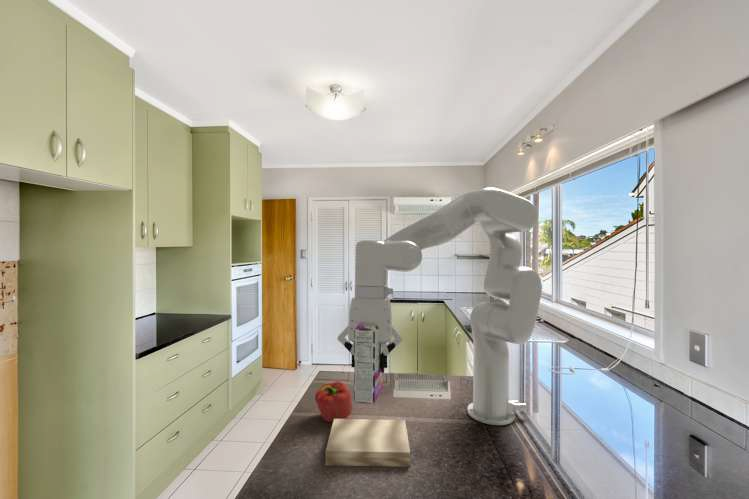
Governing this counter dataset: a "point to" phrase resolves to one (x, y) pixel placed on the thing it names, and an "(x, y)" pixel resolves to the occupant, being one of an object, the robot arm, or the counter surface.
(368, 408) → the counter surface
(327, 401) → the vegetable
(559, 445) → the counter surface
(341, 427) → the wavy beige tile
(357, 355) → the candy bar box
